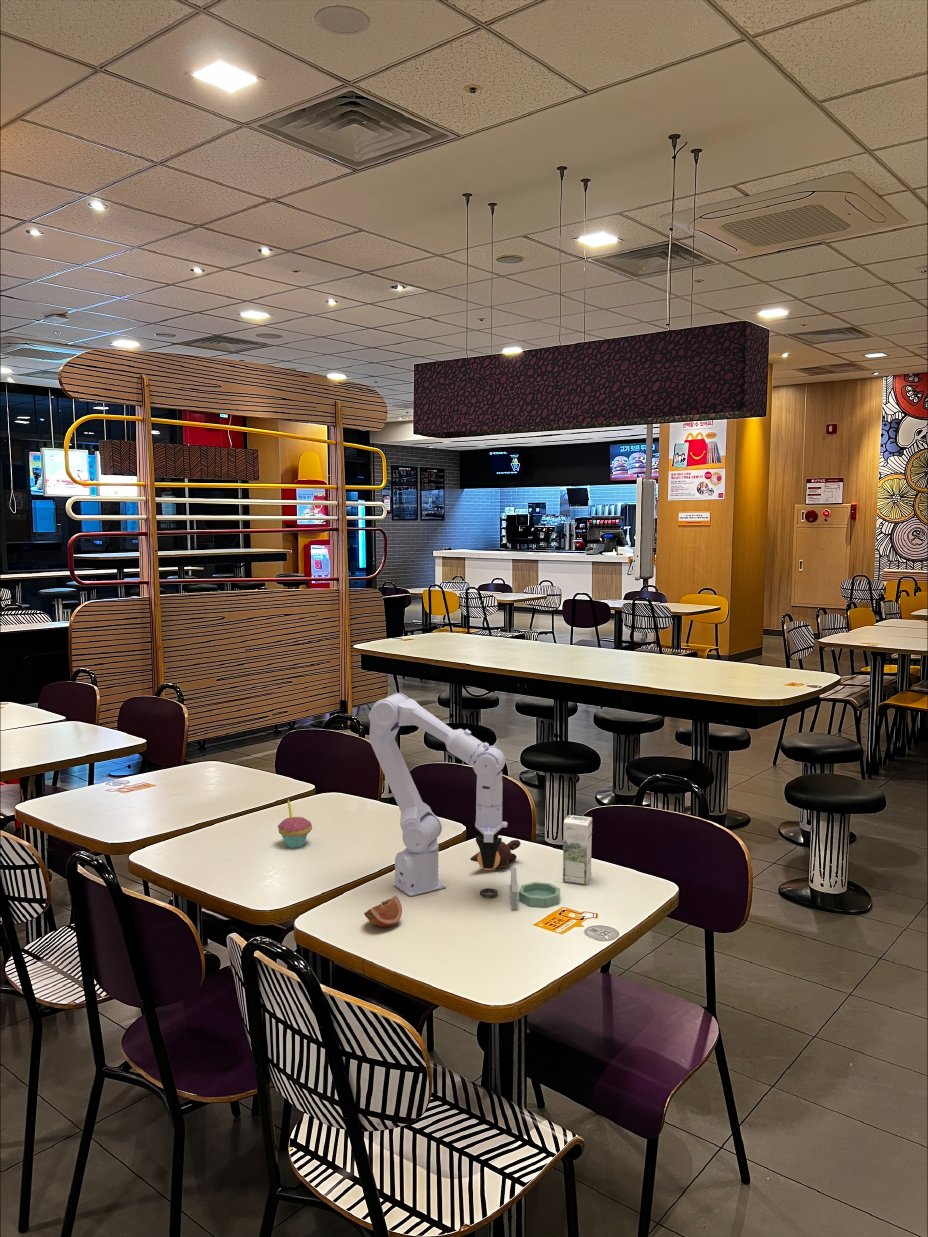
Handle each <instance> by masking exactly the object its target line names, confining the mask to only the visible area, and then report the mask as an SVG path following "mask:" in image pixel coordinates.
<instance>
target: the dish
mask: <svg viewBox="0 0 928 1237" xmlns="http://www.w3.org/2000/svg"><path fill="white" fill-rule="evenodd" d="M560 900H561V888H560V887H558V886H556V885H555V884H552V883H550V882H540V881H539V882H538V881H532V882H528V883H524V884H521V885H520V888H519V891H518V901H519V902H521V903H522V904H525V905H526V906H527V907H533V908H543V909H545V908H549V907H552V906H556V905H558V904H559V903H560Z"/></svg>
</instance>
